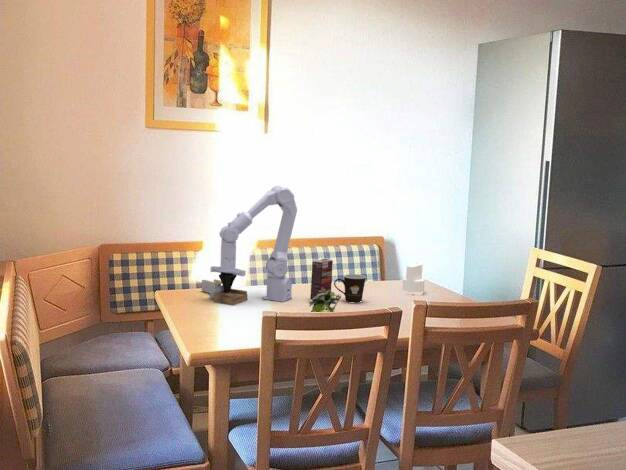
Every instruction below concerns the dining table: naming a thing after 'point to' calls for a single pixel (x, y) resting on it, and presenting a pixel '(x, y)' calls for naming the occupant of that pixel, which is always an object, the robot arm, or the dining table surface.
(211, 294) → the lid
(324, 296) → the green leafy plant
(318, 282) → the supplement box
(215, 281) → the key
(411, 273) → the base with upright slab
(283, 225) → the robot arm
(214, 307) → the dining table surface
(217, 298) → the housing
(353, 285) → the coffee mug
